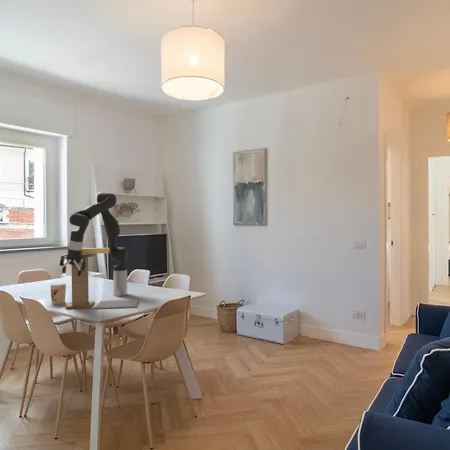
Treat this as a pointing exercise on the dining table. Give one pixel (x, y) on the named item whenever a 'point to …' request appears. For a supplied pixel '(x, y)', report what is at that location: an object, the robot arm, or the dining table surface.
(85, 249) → the mustard bar
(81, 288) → the walnut stand
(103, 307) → the grey mat
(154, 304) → the dining table surface
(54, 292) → the coffee cup
